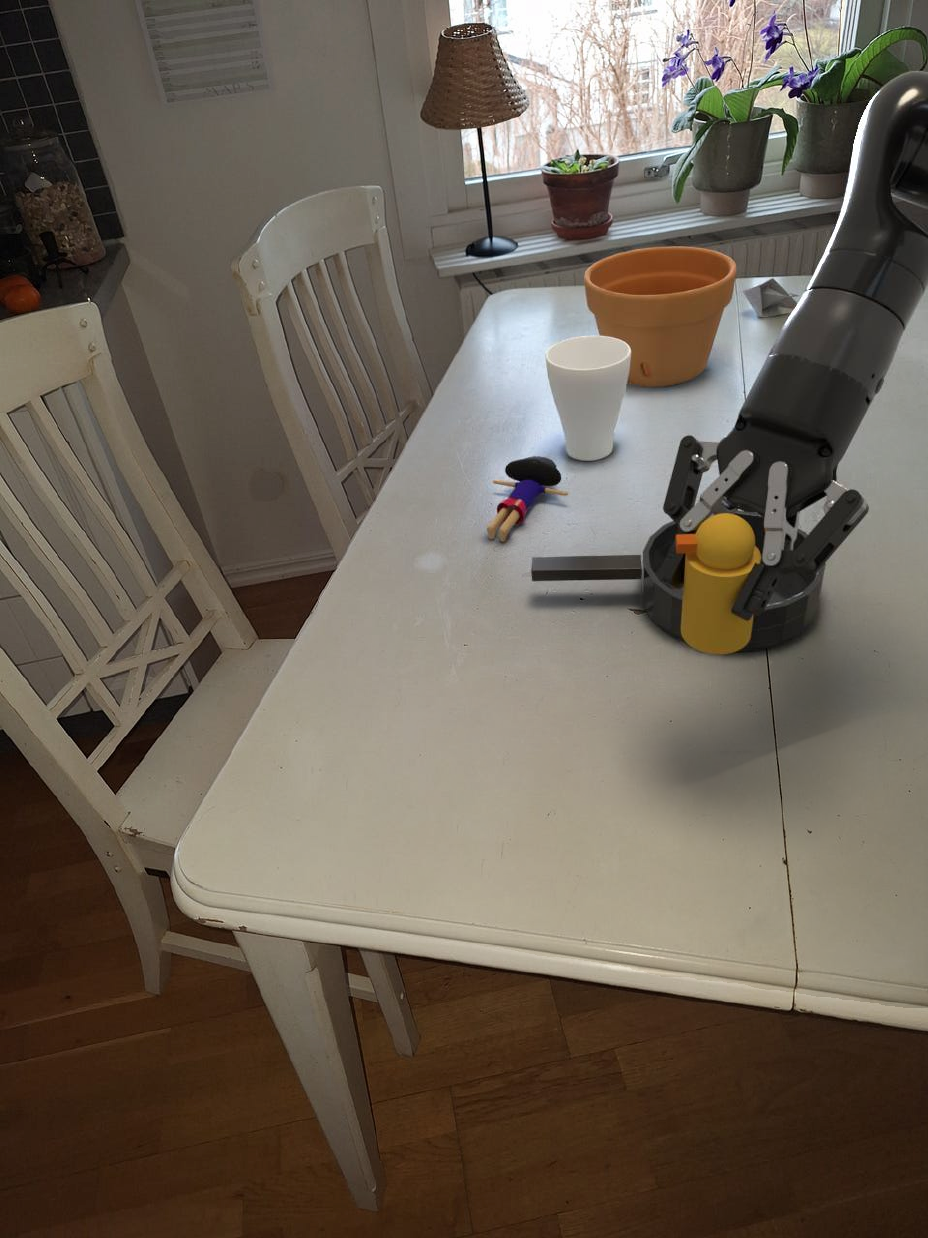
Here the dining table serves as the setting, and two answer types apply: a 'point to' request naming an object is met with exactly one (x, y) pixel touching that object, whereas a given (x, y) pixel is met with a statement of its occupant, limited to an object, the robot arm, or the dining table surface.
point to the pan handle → (586, 568)
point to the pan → (770, 629)
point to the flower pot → (662, 308)
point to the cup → (588, 391)
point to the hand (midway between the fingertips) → (705, 599)
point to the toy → (524, 491)
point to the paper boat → (770, 299)
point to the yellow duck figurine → (716, 583)
